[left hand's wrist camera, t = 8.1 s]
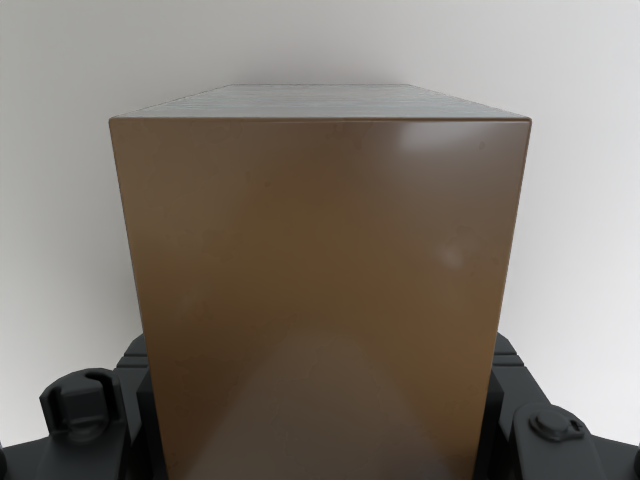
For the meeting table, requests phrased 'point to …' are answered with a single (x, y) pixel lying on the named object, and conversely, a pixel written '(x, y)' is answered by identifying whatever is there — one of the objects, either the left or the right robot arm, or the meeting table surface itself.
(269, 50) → the meeting table surface
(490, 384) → the left robot arm
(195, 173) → the beam
